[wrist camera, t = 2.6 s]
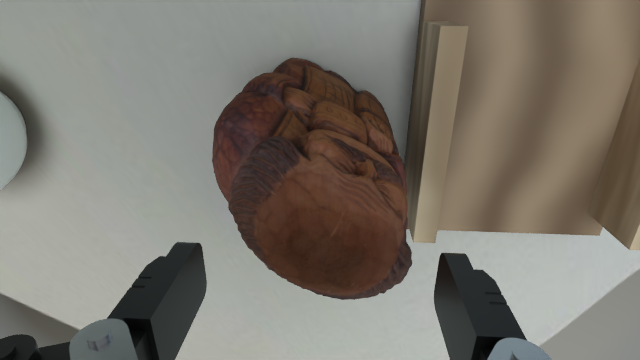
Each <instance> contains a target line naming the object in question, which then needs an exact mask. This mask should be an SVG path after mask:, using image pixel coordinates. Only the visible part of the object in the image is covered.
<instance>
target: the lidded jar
mask: <svg viewBox="0 0 640 360" xmlns="http://www.w3.org/2000/svg"><path fill="white" fill-rule="evenodd" d="M26 151H27V129H26V124H25V120H24V118H23V115H22V114H21V112H20V110H19V109H18V107H17V106H16V105H15V103H14V102H13V101H12V100H11V99H10V98H9V97H8V96H6V95H5V94H4V93H2V92H1V91H0V190H2V189H3V188H4V187H5V186H6V185H7V184H8V183H9V182H10V181H11V180H12V179H13V178H14V177H15V176H16V174H17V172H18V171H19V169H20V167H21V166H22V164H23V162H24V159H25V155H26Z"/></svg>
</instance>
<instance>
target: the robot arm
mask: <svg viewBox="0 0 640 360" xmlns="http://www.w3.org/2000/svg"><path fill="white" fill-rule="evenodd" d="M206 284H207V282H206V273H205V266H204V259H203V252H202V247H201V244H200V243H186V242H177V243H175V245H174V246H173V247H172V249H171V250H170V252H169V253H168V255H167V256H166V257H163V256H160V257H158V258H157V259H155V260H154V261H152V262H151V263H150V264H148V265H147V266H146V267H145V268H144V270H143V271H142V272H141V274H140V275H139V276H138V279H136V280H135V282H134V283H133V284H132V287H131V288H129V290H128V291H127V292H126V294H125V295H124V296H123V298H122V299H121V300H120V302H119V303H118V304H117V306H116V307H115V308H114V310H113V311H112V312H111V314H110V315H109V316H108V318H107V319H103V320H99V321H96V322H94V323H91V324H89V325H88V326H86V327H84V328H83V329H81V330H80V331H79V332H78V333H77V334H76V335H75V336H74V338H73V339H72V341H71V342H67V343H62V344H57V345H52V346H46V347H41V348H38V346H37V343H36V341H35V339H34V338H33V337H31V336H29V335H22V334H21V335H13V336H9V337H5V338H3V339H0V360H175V358H176V356H177V354H178V352H179V350H180V348H181V346H182V343H183V341H184V339H185V337H186V335H187V333H188V331H189V329H190V327H191V324H192V322H193V320H194V318H195V316H196V314H197V312H198V310H199V308H200V305H201V303H202V301H203V299H204V296H205V293H206ZM434 304H435V310H436V313H437V317H438V320H439V323H440V327H441V330H442V334H443V337H444V340H445V344H446V347H447V351H448V354H449V357H450V360H552V359H551V358H550V357H549V355H548V354H547V353H546V352H545V351H544V350H542V349H541V348H540V347H538V346H537V345H535V344H533V343H531V342H529V341H527V339H526V338H525V336H524V334H523V332H522V330H521V328H520V326H519V325H518V323H517V321H516V319H515V317H514V315H513V313H512V312H511V310H510V308H509V306H508V305H507V302H506V300H505V298H504V297H503V295H501V291H500V289H499V287H498V285H497V284H496V282H495V280H494V279H492V278H491V277H490V276H489V275H488V274H487V273H486V272H484V271H483V270H474V269H473V267H472V265H471V263H470V261H469V259H468V257H467V255H466V254H458V253H441V255H440V259H439V265H438V271H437V277H436V284H435V290H434Z"/></svg>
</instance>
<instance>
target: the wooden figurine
mask: <svg viewBox="0 0 640 360" xmlns="http://www.w3.org/2000/svg"><path fill="white" fill-rule="evenodd" d="M212 162H213V167H214V173H215V176H216V180H217V183H218V186H219V188H220V190H221V192H222V194H223V195H224V197H225V198H226V200H227V201H228V202H229V210H230V212H231V214H232V215H233V217H234V220H235V223H236V224H237V225H238V230H239V232H240V233H241V237H242V239H243V240H244V241H245V243H246V245H247V246H248V248H249V249H251V250H253V252H254V254H255V255H256V256H257V257H258V258H259V259H260V260H261V261H262V262H264V263H265V265H266V266H267V267H268V269H270V270H272V271H274V272H275V273H276V274H277V275H279V276H280V277H282V278H285V279H287V281H289V282H291V283H293V284H295V285H297V286H300V287H302V288H303V289H308V290H310V291H312V292H314V293H316V294H320V295H323V296H328V297H332V298H338V299H341V300H344V299H360V298H369V297H372V296H376V295H378V294H379V293H385V292H386V291H387V290H388V289H391V288H392V287H393V286H394V285H396V284H399V283H401V282H402V280H403V279H404V277H405V276H406V275H407V272H408V270H409V268H410V267H411V265H412V260H411V254H412V252H411V249H410V247H409V246H408V244H407V242H406V230H407V225H408V218H407V211H408V203H407V198H406V196H407V191H408V190H407V182H406V175H405V170H404V166H403V163H402V160H401V157H400V156H399V153H398V149H397V146H396V143H395V140H394V137H393V133H392V129H391V126H390V123H389V120H388V117H387V115H386V113H385V111H384V108H383V106H382V105H381V103H380V102H379V101H378V100H377V98H376V97H375V96H374V95H372V94H371V93H369V92H368V91H362V92H360V93H357V92H356V91H355V90H354V89H353V88H352V87H351V85H350V84H349V83H348V82H347V81H346V80H345V79H343V78H342V77H341V76H340V75H338V74H336V73H334V72H332V71H324V70H323V69H322V68H321V67H320V66H318V65H316V64H314V63H312V62H310V61H307V60H303V59H297V58H290V59H288V60H286V61H284V62H283V63H282V64H281V65H279V66H278V67H277V68H276V69H275V70H274V71H273V72H272V73H264V74H261V75H259V76H257V77H255V78H254V79H252V80H251V81H250V82H248V84H247V85H246V86H245V87H244V89H243V91H242V92H241V93H239V94H238V95H236V96H235V98H234V99H233V100H232V101H231V102H230V103H229V104H228V105H227V106H226V107H225V108H224V110H223V112H222V113H221V115H220V117H219V118H218V120H217V122H216V125H215V127H214V142H213V158H212Z"/></svg>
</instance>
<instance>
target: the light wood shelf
mask: <svg viewBox="0 0 640 360" xmlns="http://www.w3.org/2000/svg"><path fill="white" fill-rule="evenodd" d="M404 170H405V175H406V182H407V190H408V191H407V196H406V198H407V203H408V211H407V218H408V225H407V229H410V232H411V236H412V239H413V242H423V243H435V241H436V235H437V230H453V231H482V232H511V233H541V234H570V235H599V236H600V233H601V230H602V227H604V228H605V229H606V230H607V231H608V232H610V233H611V234H612V235H613V236H614V237H615V238H616V239H618V240H619V241H620V242H621V243H622V244H623V245H624V246H625V247H627V248H628V249H629V250H640V0H422V3H421V12H420V22H419V31H418V41H417V50H416V60H415V69H414V79H413V88H412V98H411V107H410V117H409V126H408V136H407V145H406V155H405V164H404Z"/></svg>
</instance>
